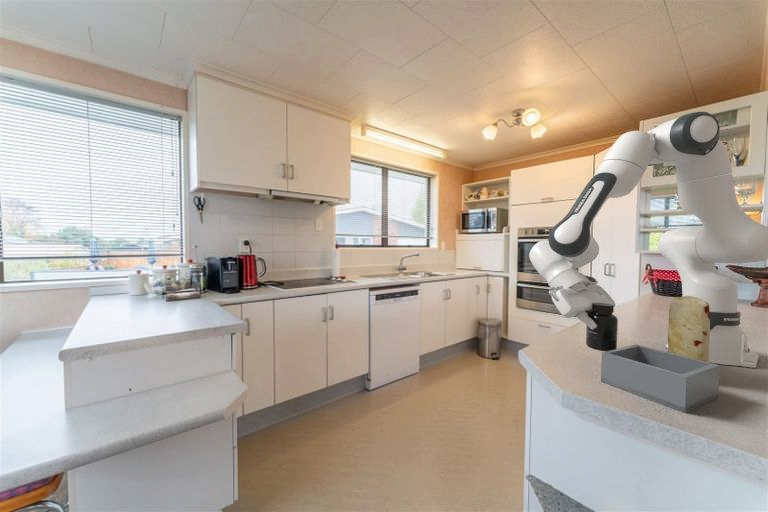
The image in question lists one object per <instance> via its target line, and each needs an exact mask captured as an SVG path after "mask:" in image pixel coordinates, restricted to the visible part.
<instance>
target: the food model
mask: <svg viewBox="0 0 768 512" xmlns="http://www.w3.org/2000/svg"><path fill="white" fill-rule="evenodd" d="M667 327H668V328H667V329H668V330H667V331H668V332H667V334H668V335H667V344H668V348H667V352H669V353H673V354H677V355H681V356H685V357H689V358H693V359H697V360H701V361H705V362H709V346H710V309H709V304H708V303H707V302H706V301H703V300H702V299H700V298H697V297H693V296H682V295H681V296H676V297H675V298H674V299H673V300H672V301H671V303H670V304H669V308H668V326H667ZM709 363H710V362H709Z"/></svg>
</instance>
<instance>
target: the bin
mask: <svg viewBox="0 0 768 512" xmlns="http://www.w3.org/2000/svg"><path fill="white" fill-rule="evenodd" d="M600 364H601V367H600V368H601V369H600V382H601V383H604V384H606V385H610V386H612V387H614V388H617V389H620V390H622V391H625V392H627V391H628V392H627V393H631V394H633V395H636V396H639V397H641V398H644V399H647V400H648V401H649V400H650V401H652V402H655V403H657V404H660V405H662V406H664V407H668V408H670V409H674V410H676V411H678V412H681V413H683V414H686V413H688V412H691V411H693V410H695V409H697V408H698V407H700V406H703V405H705V404H707V403H709V402H711V401H714V400H716V399H718V398H719V382H720V381H719V378H720V364H717V363H711V362H705V361H701V360H697V359H693V358H689V357H685V356H681V355H677V354H673V353H669V352H668V351H664V350H659V349H656V348H652V347H647V346H643V345H641V344H632V345H628V346H625V347H624V346H623V347H619V348H617V349H615V350H610V351H601V363H600Z"/></svg>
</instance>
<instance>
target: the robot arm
mask: <svg viewBox="0 0 768 512" xmlns="http://www.w3.org/2000/svg"><path fill="white" fill-rule="evenodd" d="M720 131H721V130H720V123H719V121H718V120H717V118H716V117H715V116H714V115H712V114H711V113H710V112H707V111H695V112H690V113H686V114H683V115H681V116H679V117H676V118H674V119H670V120H668V121H664V122H662V123H660V124H659V125H657V126H655V127H653V128H651V129H650V130H648V131H643V130H630V131H627V132H624V133H623V134H621V135H620V136H619V137H618V138H617V139H616V141H614V143H613V144H612V146H611V147H610V148H609V149H608V151H607V152H606V154H605V155H604V157H603V159H602V160H601V162H600V164H599V166H598V167H597V169H596V171H595V173H594V174H593V176H592V178H590V180H589V181H588V183H587V184H586V185H585V187H584V188H583V190H582V191H581V193H580V194H579V195H578V197H577V199H576V201H575V202H574V204H573V205H572V206H571V208H570V210H569V211H568V213H567V214H566V215H565V216H564V217H563V218H562V219H561V220H560V221H559V222H558V223H556V224H555V225H554V226H553V227H552V228H551V230H550V232H549V234H548V240H545V239H544V240H540V241H538V242H536V243H535V244H534V245H533V246H532V247H531V248H530V251H529V254H528V258H529V260H530V262H531V264H532V266H533V267H534V269H535V271H537V273H538V274H539V275H540V276H541V277H542V278H544V279H545V281H546V282H547V284H548V286H549V287H550V288H549V290H548V293H549V295H550V296H551V301H552V303H553V304H554V305H555V307H556V309H557V310H558V311H559V312H560V314H561V315H562V316H563V317H565V319H570V318H575V317H576V318H577V319H578V320H579V321H581V322H582V323H584V324H585V325H586V326H587V325H588V326H589V328H590V329H596V328H598V327H599V324H598V323H597V322H596V321H595V320H592V319H591V318H590V317H589V316H587V315H588V314H589V313H590V312H592V309H593V308H592V303H607V304H611V305H613V306H614V308H615V307H617V306H616V303H615V300H614V299H613V298H612V297H611V295H610V294H609V293H608V292H607V291H606V290H605V289H604V288H603V287H602V286H600V284H599V281H598V280H597V279H596V278H595V277H592V276H589V275H586V274H584V273H583V272H579V270H578V269H579V268H582V267H584V266H586V265H588V264H589V263H591V262H593V261H594V260H595V259H596V258H597V256H598V255H599V254H600V253H599V252H600V246H599V244H598V242H597V240H596V239H595V238H594V237H593V235H592V234H591V227H592V225H593V224H592V223H594V221H595V219H596V217H597V216H598V214H599V212H600V211H601V210H602V207H603V206H604V205H605V204H606V202H607V201H608V200H609V199H610V198H611V199H619V198H623V197H625V196H628V195H630V194H631V193H632V191H633V190H634V189H635V188H636V187H637V185H638V184H639V183H640V181H641V180H642V178H643V176H644V174H645V172H646V170H647V168H648V167H650V166H656V165H659V164H664V163H668V162H669V163H670V162H671V163H672V164H673V165H674V166H675V170H676V171H675V172H676V177H675V178H676V186H677V195H678V204H679V207H680V209H681V210H682V211H683V212H685V213H687V214H691V215H693V216H695V217H696V218H697V219H698V220H699V221H700V222H701V224H702V225H700V226H698V225H697V226H683V227H678V228H674V229H670V230H667V231H665V232H663V233H662V234H661V235H660V237H659V239H658V241H657V248H658V251H659V253H660V255H662V257H663V258H665V259H666V260H668V261H669V262H670V263H671V264H672V265H673V267H674V268H675V269H676V272H677V273H678V275H679V277H680V278H679V279H680V281H681V293H682V295H681V297H682V296H693V297H697V298H700V299H702V300H703V301H706V302H707V303H708V304H709V309H710V346H709V363H713V364H717V365H725V366H738V367H746V368H752V369H754V368H755V369H756V368H757V366H758V362H759V359H760V356H759V354H758V353H756V352H752V351H750V350H751V349H750V348H749V347H748V335H746V333H745V332H744V331H743V330H742V327H740V325H741V316H742V313H741V311H738V298H739V297H738V294H739V289H738V286H737V284H736V283H735V281H733V280H732V279H730V278H728V277H726V276H723V275H722V274H721V273H720V272H719V271H718V269H717V267H716V264H737V265H738V264H750V263H758V262H765V261H767V260H768V226H767V225H764V224H763V223H761V222H760V223H759V222H758V221H756V220H755V219H753V218H752V217H750V215H748V214H747V213H746V212H745V211H744V210H743V209H742V207H741V206H740V204H739V201H738V199H737V196H736V191H735V186H734V185H735V184H734V179H733V178H734V177H733V170H732V164H731V160H730V157H729V153H728V151H727V149H726V146H725V144H724V143H723V141H721V140H720V139H719V138H720V134H721V132H720ZM665 348H667V349H668V343H665Z"/></svg>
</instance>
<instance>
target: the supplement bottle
mask: <svg viewBox="0 0 768 512" xmlns="http://www.w3.org/2000/svg"><path fill="white" fill-rule="evenodd" d="M592 308H593V309H592V312H590V313H589V314H588V315H587V316H589V317H590V318H591V319H592V320H595V321H596V322H597V323H598V324H599V327H598V328H596V329H590V328H589V326H588V325H587V324H586V329H585V330H586V333H585V334H586V335H585V344H586V347H588V348H590V349H592V350H596V351H599V352H606V351H610V350H615V349H618V331H619V327H618V326H619V320H618V318H617V317H618V316H617V315H615V314H613V313H614V311H615V310H614V309H615V307H614V306H613V305H611V304H607V303H592Z"/></svg>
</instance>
